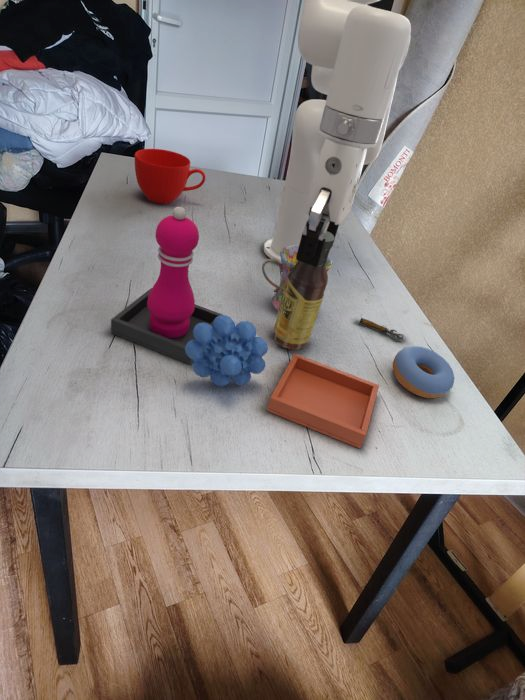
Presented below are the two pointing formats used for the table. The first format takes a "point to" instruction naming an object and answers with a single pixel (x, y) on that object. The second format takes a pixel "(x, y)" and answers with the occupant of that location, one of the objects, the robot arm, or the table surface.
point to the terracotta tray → (324, 400)
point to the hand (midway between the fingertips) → (315, 250)
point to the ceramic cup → (163, 174)
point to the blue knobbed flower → (226, 351)
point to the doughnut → (423, 372)
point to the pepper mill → (173, 276)
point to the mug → (286, 270)
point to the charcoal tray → (137, 330)
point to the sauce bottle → (302, 301)
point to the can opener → (381, 329)
